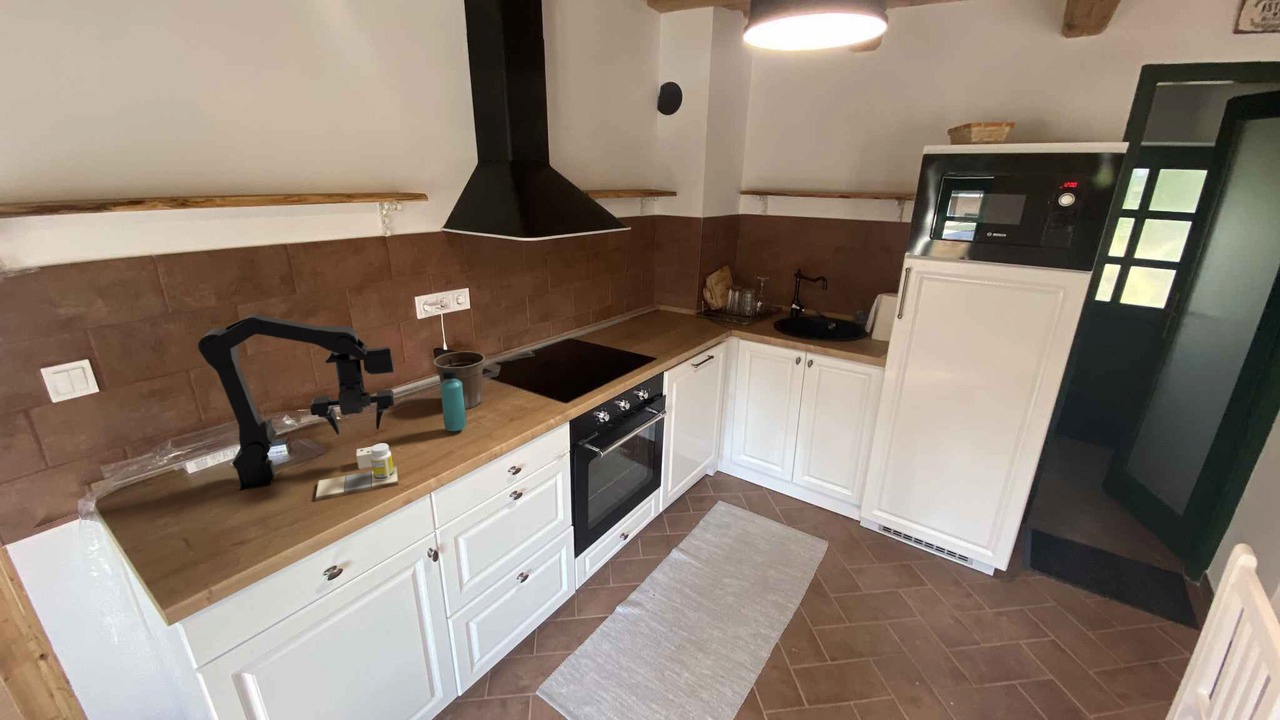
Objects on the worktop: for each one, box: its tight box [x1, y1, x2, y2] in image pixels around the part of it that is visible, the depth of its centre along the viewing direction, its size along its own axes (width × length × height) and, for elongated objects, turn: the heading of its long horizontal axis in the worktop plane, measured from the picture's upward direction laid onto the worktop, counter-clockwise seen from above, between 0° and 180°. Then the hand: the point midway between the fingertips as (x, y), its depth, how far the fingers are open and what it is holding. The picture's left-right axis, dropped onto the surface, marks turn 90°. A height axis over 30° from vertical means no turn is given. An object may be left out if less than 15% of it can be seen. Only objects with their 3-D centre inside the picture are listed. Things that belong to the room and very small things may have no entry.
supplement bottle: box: [370, 442, 394, 481], centre depth 132 cm, size 5×5×8 cm
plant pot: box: [433, 350, 486, 410], centre depth 177 cm, size 16×16×16 cm
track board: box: [315, 466, 399, 502], centre depth 132 cm, size 18×8×1 cm, turn 116°
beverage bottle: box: [439, 369, 467, 432], centre depth 157 cm, size 6×7×20 cm
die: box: [356, 446, 372, 470], centre depth 140 cm, size 4×4×4 cm
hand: (358, 431), depth 138 cm, fingers open, 9 cm apart
